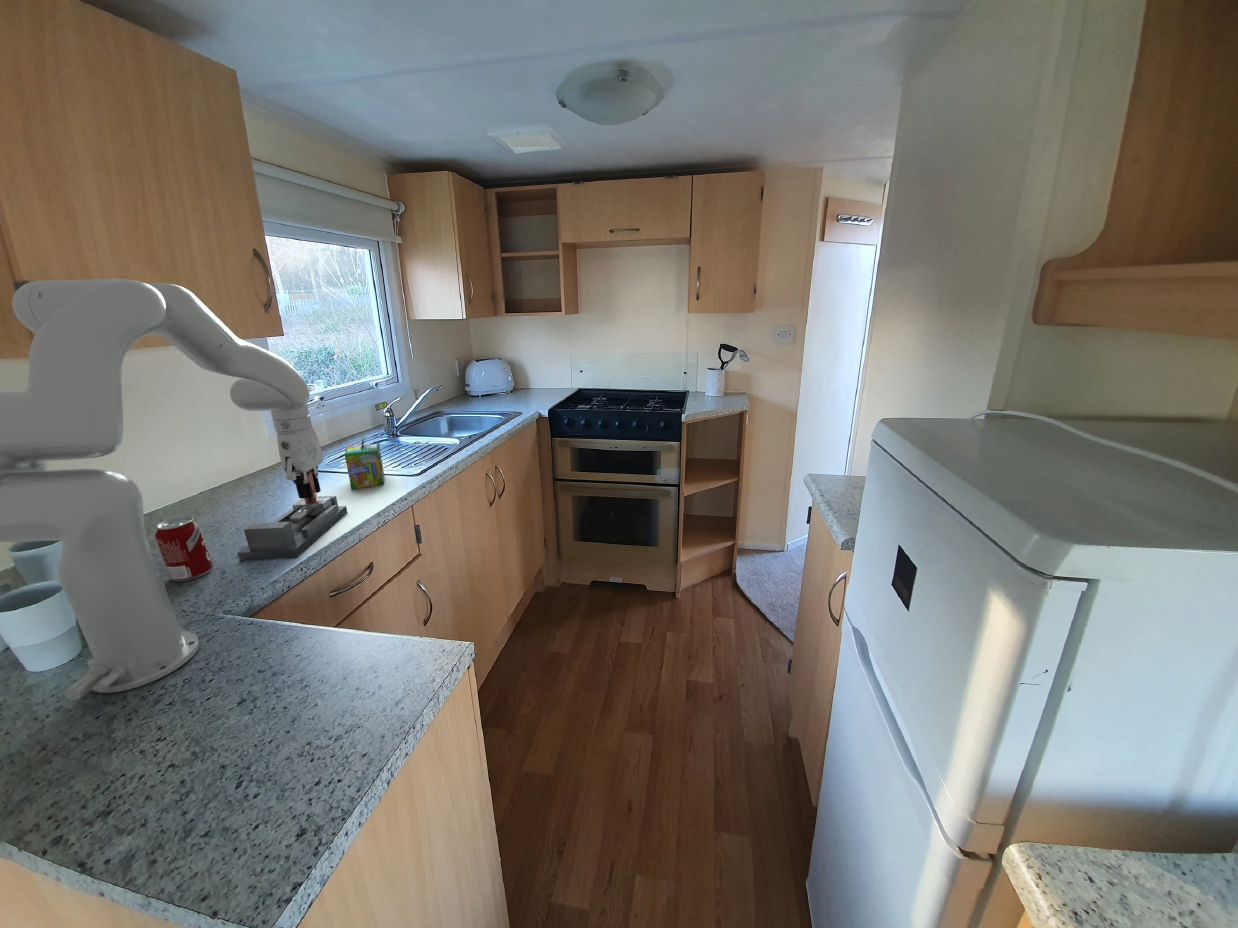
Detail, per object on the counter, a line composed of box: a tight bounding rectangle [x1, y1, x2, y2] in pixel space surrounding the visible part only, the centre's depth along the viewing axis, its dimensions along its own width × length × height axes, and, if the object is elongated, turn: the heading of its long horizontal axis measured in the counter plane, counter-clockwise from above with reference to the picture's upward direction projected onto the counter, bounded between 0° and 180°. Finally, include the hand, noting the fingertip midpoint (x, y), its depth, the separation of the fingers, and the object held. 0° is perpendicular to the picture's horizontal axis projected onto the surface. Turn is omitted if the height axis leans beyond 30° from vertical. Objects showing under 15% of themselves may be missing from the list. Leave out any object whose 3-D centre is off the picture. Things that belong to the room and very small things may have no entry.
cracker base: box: [237, 495, 348, 562], centre depth 115 cm, size 24×12×7 cm, turn 4°
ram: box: [290, 470, 332, 524], centre depth 119 cm, size 10×7×11 cm
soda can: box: [154, 516, 213, 582], centre depth 98 cm, size 7×7×12 cm
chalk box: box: [344, 435, 385, 490], centre depth 147 cm, size 9×9×15 cm
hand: (310, 494), depth 122 cm, fingers closed on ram, 2 cm apart
